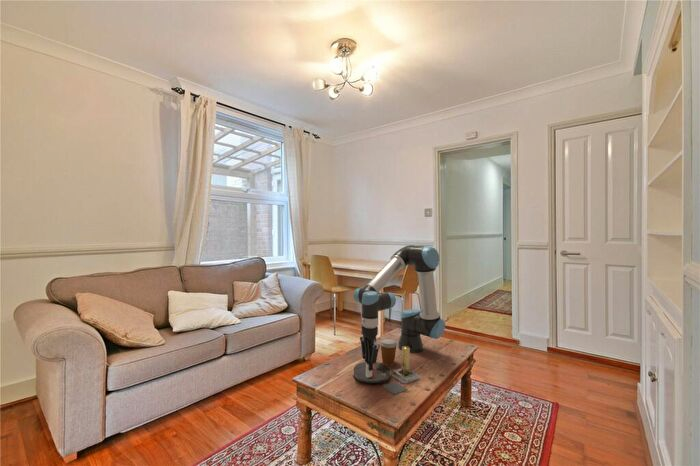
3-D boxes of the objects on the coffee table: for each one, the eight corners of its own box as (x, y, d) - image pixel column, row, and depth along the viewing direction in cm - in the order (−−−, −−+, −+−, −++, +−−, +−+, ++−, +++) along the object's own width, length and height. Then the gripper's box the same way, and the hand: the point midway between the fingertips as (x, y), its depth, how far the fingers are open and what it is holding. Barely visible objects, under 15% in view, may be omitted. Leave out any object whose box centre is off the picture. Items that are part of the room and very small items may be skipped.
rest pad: (395, 382, 143) (395, 381, 143) (407, 390, 136) (407, 389, 136) (382, 386, 139) (382, 385, 139) (393, 395, 132) (393, 394, 132)
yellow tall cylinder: (405, 374, 150) (406, 345, 150) (410, 378, 147) (411, 348, 147) (399, 376, 148) (400, 346, 148) (405, 380, 145) (405, 349, 145)
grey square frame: (405, 371, 154) (406, 366, 154) (418, 379, 146) (418, 374, 146) (392, 375, 149) (392, 371, 149) (404, 384, 141) (404, 379, 141)
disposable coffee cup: (396, 367, 158) (396, 345, 158) (378, 365, 160) (378, 343, 160) (397, 359, 167) (397, 338, 167) (380, 357, 169) (380, 337, 169)
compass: (352, 365, 157) (353, 352, 156) (387, 365, 157) (387, 352, 157) (354, 383, 139) (354, 368, 138) (392, 383, 139) (393, 368, 139)
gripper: (355, 323, 142) (354, 372, 142) (371, 331, 131) (370, 384, 131) (368, 320, 146) (367, 368, 146) (385, 328, 134) (384, 380, 135)
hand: (368, 376), depth 139 cm, fingers closed
